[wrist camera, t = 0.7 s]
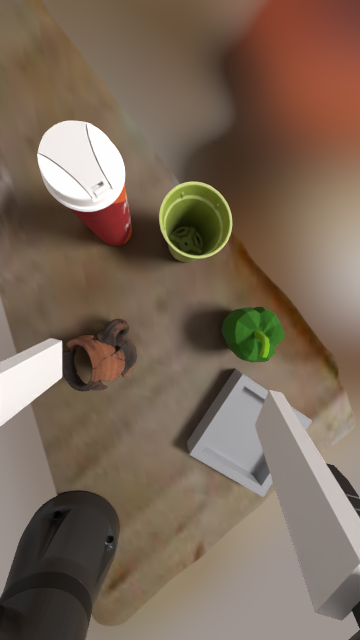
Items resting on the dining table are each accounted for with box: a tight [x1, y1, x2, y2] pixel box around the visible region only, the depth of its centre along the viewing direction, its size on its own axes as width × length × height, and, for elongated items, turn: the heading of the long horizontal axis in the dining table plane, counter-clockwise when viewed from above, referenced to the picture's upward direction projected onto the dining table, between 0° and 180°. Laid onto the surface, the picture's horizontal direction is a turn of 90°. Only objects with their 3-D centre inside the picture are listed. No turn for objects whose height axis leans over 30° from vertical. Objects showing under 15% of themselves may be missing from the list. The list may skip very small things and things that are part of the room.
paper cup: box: [37, 121, 132, 246], centre depth 23 cm, size 8×8×14 cm
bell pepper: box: [221, 307, 285, 362], centre depth 28 cm, size 8×8×10 cm
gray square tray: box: [187, 369, 312, 497], centre depth 33 cm, size 16×16×3 cm
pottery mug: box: [62, 319, 137, 391], centre depth 28 cm, size 12×10×8 cm
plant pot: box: [159, 182, 232, 263], centre depth 27 cm, size 9×9×9 cm
